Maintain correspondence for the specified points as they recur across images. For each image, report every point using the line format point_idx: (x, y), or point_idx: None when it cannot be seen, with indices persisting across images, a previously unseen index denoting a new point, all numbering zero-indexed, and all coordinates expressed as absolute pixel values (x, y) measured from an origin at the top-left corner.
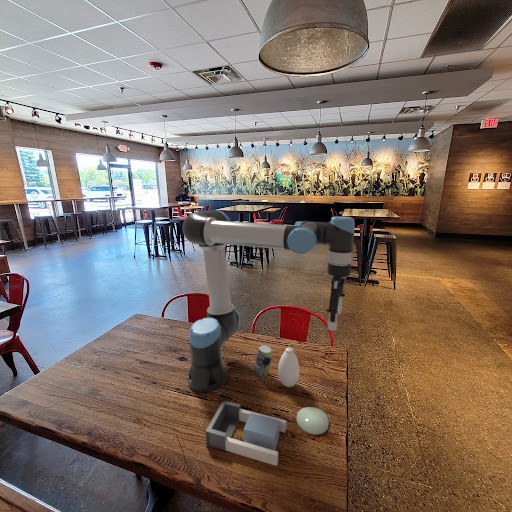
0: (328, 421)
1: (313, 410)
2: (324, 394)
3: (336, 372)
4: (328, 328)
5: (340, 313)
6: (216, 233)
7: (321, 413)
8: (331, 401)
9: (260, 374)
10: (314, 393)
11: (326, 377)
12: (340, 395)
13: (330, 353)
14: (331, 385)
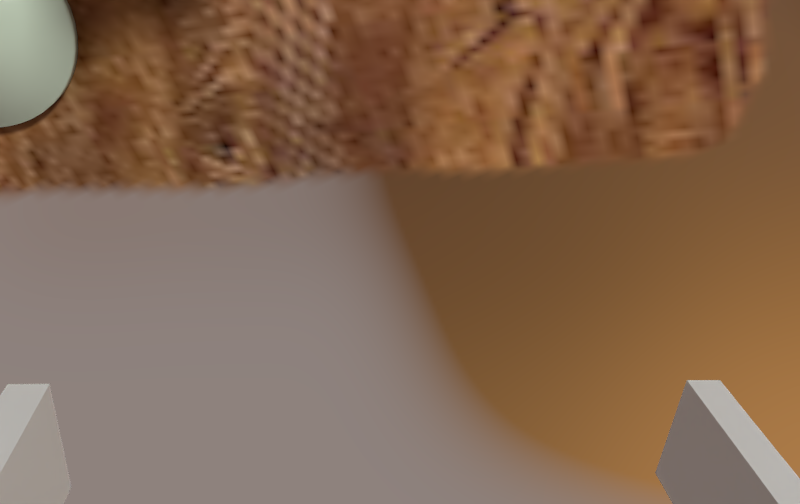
0: (9, 125)
1: (42, 25)
2: (243, 71)
3: (492, 124)
4: (5, 403)
5: (660, 471)
6: None
7: (47, 78)
8: (201, 120)
9: None
10: (222, 3)
11: (418, 64)
12: (277, 165)
13: (712, 61)
14: (348, 105)
